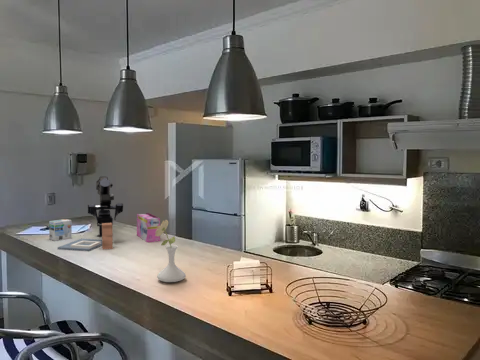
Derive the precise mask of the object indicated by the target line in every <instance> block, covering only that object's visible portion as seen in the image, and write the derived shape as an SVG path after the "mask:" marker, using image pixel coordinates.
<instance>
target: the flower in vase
mask: <svg viewBox="0 0 480 360" xmlns="http://www.w3.org/2000/svg"><path fill="white" fill-rule="evenodd" d="M168 225H169V221H168V219H165V220H162V222H160V225H159V226H158V229H157V231H156V232H155V233H156V234H155V236H157V237H158V236H160V237H161V235H162V234H164V233H165V236H166V239H164V240H163V241H162V242H161V245H160V246H165V249H166V250H167V255H168V263H167V265H166V266H165V267H164V268H163V269H162V270H160V271H159V273H158V274H157V277H156V278H157V280H159V281H161V282H164V283H177V282H180V281H183V280H184V279H185V278H186V277H187V276H186V272H185V271H183V270H182V268H179V267H178V266H177V264H176V262H175V256H176V255H175V254H176V250H177V249H178V247H179V246H178V245H177V244H176V245H175V244H174V243H175V242H176V237H175V236H173V237H171V238H170V239H169V235H168V233H167V228H168ZM167 243H168V244H167Z"/></svg>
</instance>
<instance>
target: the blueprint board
mask: <svg viewBox="0 0 480 360" xmlns="http://www.w3.org/2000/svg"><path fill="white" fill-rule="evenodd" d="M100 247H102V239H93V238H92V239H90V238H79V239H77V240H74V241H71V242H69V243H65V244H63V245H61V246H57V250H65V251H77V252H78V251H80V252H90V251H93V250H96V249H98V248H100Z"/></svg>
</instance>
